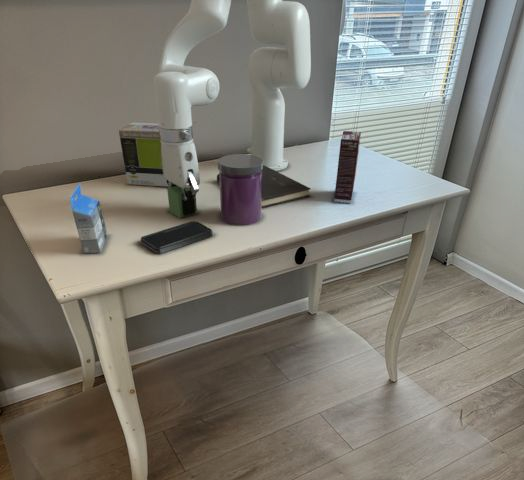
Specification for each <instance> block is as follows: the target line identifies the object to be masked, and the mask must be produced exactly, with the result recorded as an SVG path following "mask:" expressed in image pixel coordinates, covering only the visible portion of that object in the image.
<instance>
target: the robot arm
mask: <svg viewBox="0 0 524 480" xmlns="http://www.w3.org/2000/svg"><path fill="white" fill-rule="evenodd" d="M231 5H232V0H191V1H190V6H189V10H188V12H187V13H186V14H185V15H184V16H183V18H181V19H180V21H179V22H178V23H177V24H176V26H175V27H174V28H173V30H172V31H171V33H170V34H169V35H168V36H167V39H166V41H165V43H164V45H163V47H162V50H161V51H162V52H161V57H160V61H159V67H158V73H157V74H155V75H154V77H153V88H154V97H155V98H154V99H155V104H156V105H155V106H156V116H157V123H158V125H159V134H160V142H161V155H162V167H163V174H164V177H165V178H166V182H167V184H168V187H167V188H170V187H174V186H179V187H181V191H182V195H183V200H182V208H183V215H184V216H185V217H188V216H187V215H189V216H192V215H195V214H194V213H195V202H194V198H195V195H197V194H198V193H199V191H200V188H199V185H200V184H201V183H200V182H201V179H200V169H199V161H198V154H197V149H196V145H195V142H194V133H193V132H194V131H193V120H192V119H193V118H192V107H203V106H208V105H211V104H213V102H215V100H216V99H217V97H218V96H219V93H220V81H219V79H218V77H217V75H216V74H215V73H214V72H213V71H211V70H210V69H208V68H204V67H197V66H190V65H185V61H186V59H187V57H188V55H189V54H190V52H191V51H192V50H193V49H194V47H196V46H197V45H198V44H200V43H201V42H203V41H205V40H207V39H209V38H211V37H212V36H214V35H216V34H218V33H220V32H221V31H222V30H224V29H225V27H226V26H227V24H228V19H229V15H230V9H231ZM246 8H247V18H248V25H249V26H248V27H249V32H250V35H251V38H252V39H253V40H254V41H255V42H256V43H259V44H266V45H274V46H275V47H273V46H262V47H258V48H256V49H255V50H253V51H252V53H251V54H250V56H249V58H248V75H249V81H250V89H251V106H252V107H251V146H250V148H247V149H246V152H247V154H249V155H254V156H257V157H260V158H261V159H262V160H263V165H265V166H267V167H269V168H271V169H273V170H275V171H277V172H279V171H283V170H285V169H287V167H288V166H289V161H288V160H287V159H286V158H284V140H285V117H286V116H285V115H286V113H285V112H286V103H285V98H284V96H283V93H282V91H281V89H284V90H293V91H298V90H300V91H301V90H303V89H304V88H306V87H307V85H308V83H309V82H310V79H311V72H312V56H311V55H312V54H311V51H312V50H311V25H310V23H311V21H310V17H309V16H310V15H309V12H308V10H307V8H306V7H305V5H304V4H302V3H300V2H298V1H292V0H246ZM276 46H284V48H283V47H276ZM285 47H286V48H285ZM186 185H187V186H186ZM188 188H189V189H190V191H188V192H187V194H186V190H185V189H188ZM191 214H192V215H191Z"/></svg>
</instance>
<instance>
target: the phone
mask: <svg viewBox="0 0 524 480" xmlns="http://www.w3.org/2000/svg"><path fill="white" fill-rule="evenodd" d="M212 237H213V229H212V228H210V227H208V226H207V225H205V224H202V223H201V222H200V221H196V220H191V221H188V222H185V223H181V224H178V225H175V226H172V227H168V228H166V229H162V230H158V231H156V232H153V233H149V234H146V235H143V236H141V237H140V242H141V245H143V246H144V247H146V248H148V249H149V250H150V251H152V252H153V253H154V254H164V253H166V252H167V253H168V252H170V251H172V250H175V249H178V248H182V247H185V246H187V245H191V244H193V243H197V242H200V241H203V240H205V239H209V238H212Z"/></svg>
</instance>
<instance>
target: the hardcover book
mask: <svg viewBox="0 0 524 480" xmlns="http://www.w3.org/2000/svg"><path fill="white" fill-rule="evenodd" d="M261 171H262V209H264V208H269V207H272V206H276V205H281V204H284V203H289V202H293V201H297V200H302V199H305V198H306V199H307V198H309V197H310V196H311V195H310V194H309V191H310V190H311V188H310V187H309V186H307V185H305V184H303V183H301V182H298V181H297V180H295V179H293V178H291V177H289V176H286V175H285V174H283V173H281V172H279V171H275V170H273V169H271V168H269V167H267V166H265V165H263V169H262V170H261ZM216 181H217V182H218V183H220V180H219V173H218V174H217V175H216Z"/></svg>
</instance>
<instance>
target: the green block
mask: <svg viewBox="0 0 524 480" xmlns="http://www.w3.org/2000/svg"><path fill="white" fill-rule="evenodd" d="M187 185H188V184H186V186H187ZM185 190H186V194H187V192H188V191H190V189H189V188H188V189H185ZM166 191H167V200H168V207H169V208H168V209H169V213H171V214H173V215H174V216H175V217H177V218H179V219H181V218H185V217H188V216H192V215H195V214H198V207H197V196H196V195H197V194H196V195H195V198H194V202H195V213H194V214H191V215H187V216H184V215H183V208H182V200H183V195H182V191H181V187H179V186H174V187H170V188H168V187H167V188H166Z"/></svg>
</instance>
